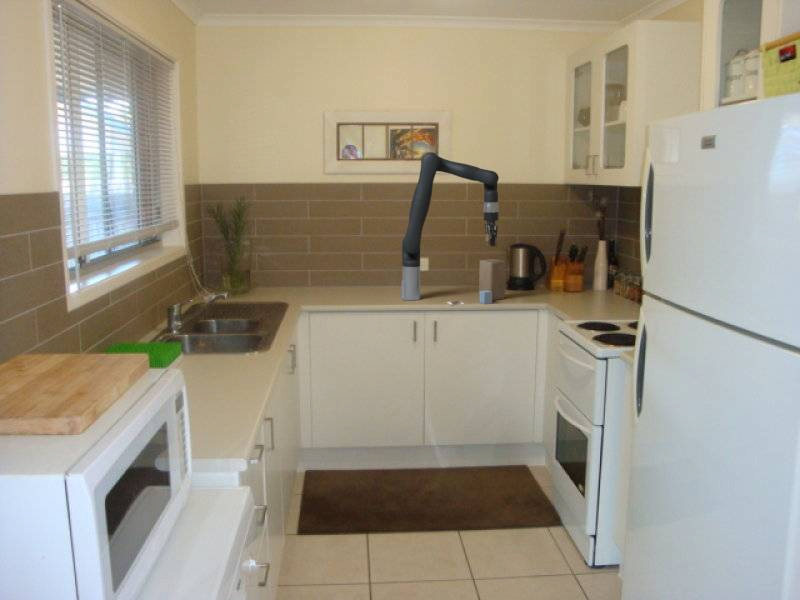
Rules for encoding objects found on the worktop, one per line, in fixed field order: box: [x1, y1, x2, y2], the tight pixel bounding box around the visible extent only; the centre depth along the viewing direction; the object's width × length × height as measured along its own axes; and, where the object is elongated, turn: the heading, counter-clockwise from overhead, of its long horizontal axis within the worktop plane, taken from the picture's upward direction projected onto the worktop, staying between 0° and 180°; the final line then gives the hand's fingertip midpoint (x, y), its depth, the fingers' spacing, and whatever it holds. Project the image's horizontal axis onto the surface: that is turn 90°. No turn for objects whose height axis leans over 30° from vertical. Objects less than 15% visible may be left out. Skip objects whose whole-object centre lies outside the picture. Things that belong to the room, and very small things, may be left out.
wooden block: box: [478, 258, 507, 301], centre depth 364 cm, size 10×10×20 cm
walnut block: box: [485, 233, 498, 248], centre depth 359 cm, size 4×4×6 cm
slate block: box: [479, 290, 493, 305], centre depth 353 cm, size 4×4×6 cm
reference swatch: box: [446, 300, 465, 306], centre depth 353 cm, size 7×7×1 cm
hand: (491, 244), depth 359 cm, fingers closed on walnut block, 4 cm apart
